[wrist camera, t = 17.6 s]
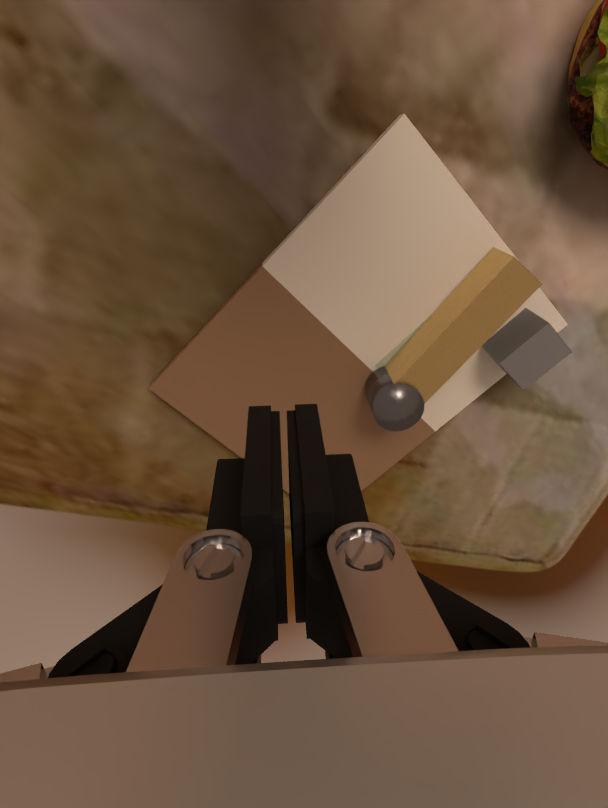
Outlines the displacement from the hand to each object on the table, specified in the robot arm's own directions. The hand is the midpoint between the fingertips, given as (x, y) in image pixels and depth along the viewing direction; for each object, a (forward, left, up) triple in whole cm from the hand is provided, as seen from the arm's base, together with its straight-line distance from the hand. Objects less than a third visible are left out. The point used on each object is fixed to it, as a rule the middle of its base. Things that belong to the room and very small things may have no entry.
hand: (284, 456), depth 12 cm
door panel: (+1, +9, -25) cm, 26 cm away
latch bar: (-4, +12, -23) cm, 27 cm away
